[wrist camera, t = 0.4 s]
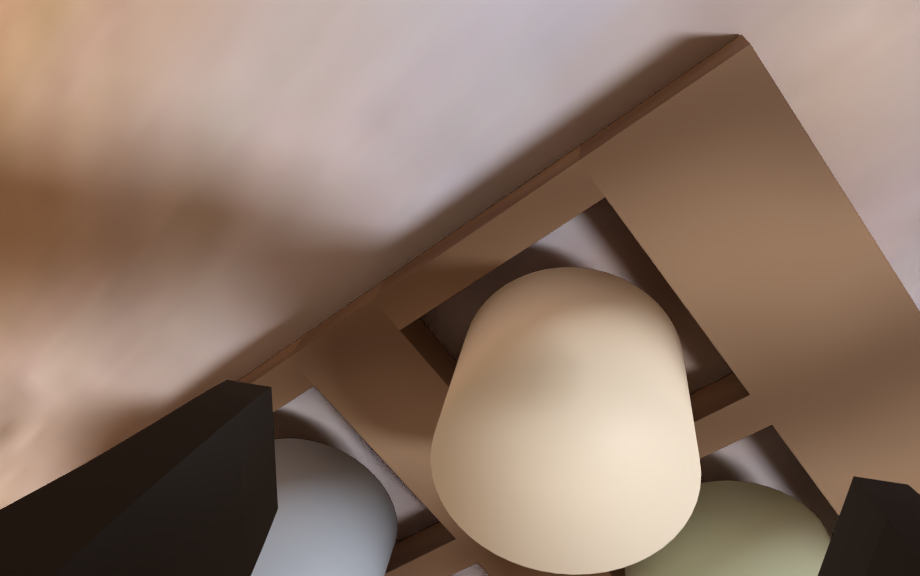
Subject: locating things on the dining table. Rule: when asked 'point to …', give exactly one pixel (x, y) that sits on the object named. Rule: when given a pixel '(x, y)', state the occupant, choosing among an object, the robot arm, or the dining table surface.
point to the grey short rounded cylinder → (326, 515)
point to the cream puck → (569, 425)
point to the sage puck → (741, 536)
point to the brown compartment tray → (693, 280)
